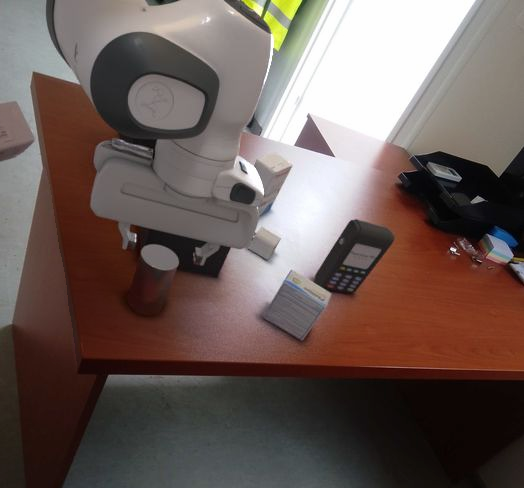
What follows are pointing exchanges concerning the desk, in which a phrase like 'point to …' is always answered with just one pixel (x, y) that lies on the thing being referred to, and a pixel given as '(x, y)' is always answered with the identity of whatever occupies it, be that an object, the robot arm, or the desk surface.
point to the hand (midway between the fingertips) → (163, 254)
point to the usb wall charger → (264, 243)
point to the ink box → (271, 178)
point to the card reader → (353, 256)
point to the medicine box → (297, 305)
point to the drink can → (152, 279)
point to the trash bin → (185, 251)
